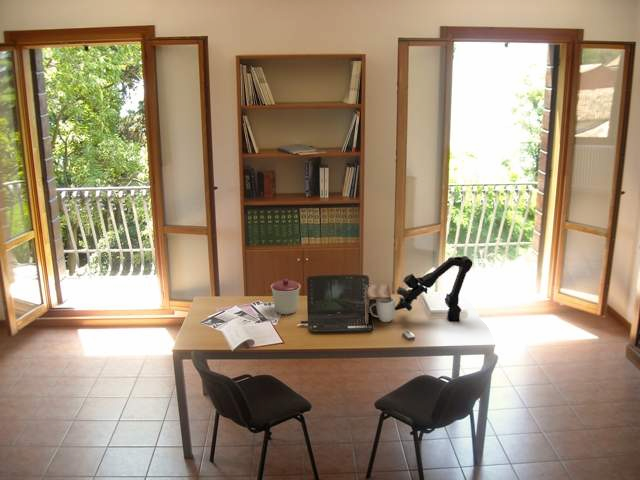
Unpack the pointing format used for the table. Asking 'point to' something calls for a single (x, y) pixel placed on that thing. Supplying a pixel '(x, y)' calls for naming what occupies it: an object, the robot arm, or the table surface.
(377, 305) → the mug
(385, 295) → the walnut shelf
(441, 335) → the table surface
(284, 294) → the canister
